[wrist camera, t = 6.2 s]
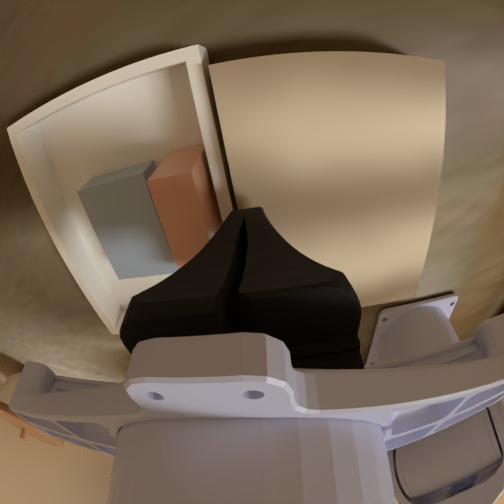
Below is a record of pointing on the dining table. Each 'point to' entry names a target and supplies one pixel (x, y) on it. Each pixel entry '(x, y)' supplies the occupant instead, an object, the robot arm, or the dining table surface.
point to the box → (117, 156)
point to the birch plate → (340, 157)
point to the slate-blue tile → (128, 222)
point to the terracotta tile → (185, 201)
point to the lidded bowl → (3, 396)
